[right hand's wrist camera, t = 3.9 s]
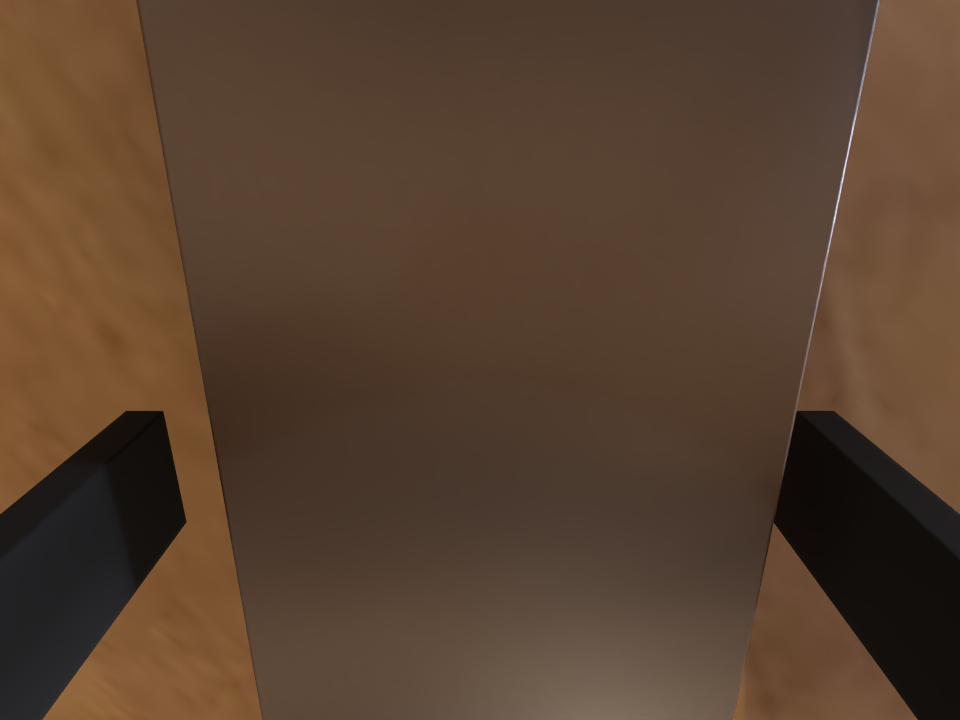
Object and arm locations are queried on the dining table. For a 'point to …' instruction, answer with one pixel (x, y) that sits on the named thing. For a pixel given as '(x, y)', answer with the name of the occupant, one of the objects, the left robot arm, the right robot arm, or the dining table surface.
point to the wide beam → (503, 332)
